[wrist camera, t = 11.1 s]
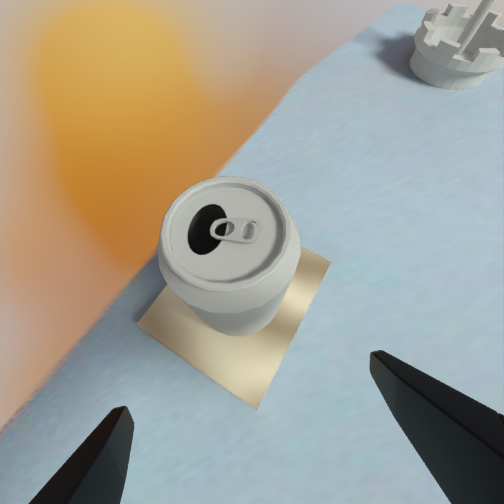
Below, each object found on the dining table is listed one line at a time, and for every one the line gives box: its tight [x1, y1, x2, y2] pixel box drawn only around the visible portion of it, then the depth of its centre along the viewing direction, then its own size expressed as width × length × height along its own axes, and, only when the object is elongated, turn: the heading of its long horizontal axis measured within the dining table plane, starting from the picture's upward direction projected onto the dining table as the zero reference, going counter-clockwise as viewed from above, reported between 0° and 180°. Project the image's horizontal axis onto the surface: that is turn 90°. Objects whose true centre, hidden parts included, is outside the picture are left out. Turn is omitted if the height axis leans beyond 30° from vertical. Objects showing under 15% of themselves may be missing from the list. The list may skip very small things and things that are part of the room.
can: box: [157, 176, 301, 336], centre depth 17 cm, size 8×8×12 cm
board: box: [136, 246, 331, 410], centre depth 23 cm, size 14×12×2 cm
